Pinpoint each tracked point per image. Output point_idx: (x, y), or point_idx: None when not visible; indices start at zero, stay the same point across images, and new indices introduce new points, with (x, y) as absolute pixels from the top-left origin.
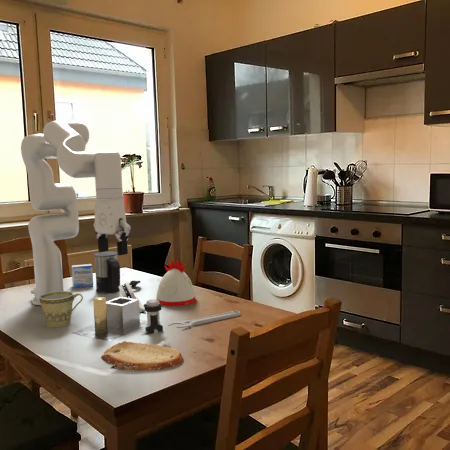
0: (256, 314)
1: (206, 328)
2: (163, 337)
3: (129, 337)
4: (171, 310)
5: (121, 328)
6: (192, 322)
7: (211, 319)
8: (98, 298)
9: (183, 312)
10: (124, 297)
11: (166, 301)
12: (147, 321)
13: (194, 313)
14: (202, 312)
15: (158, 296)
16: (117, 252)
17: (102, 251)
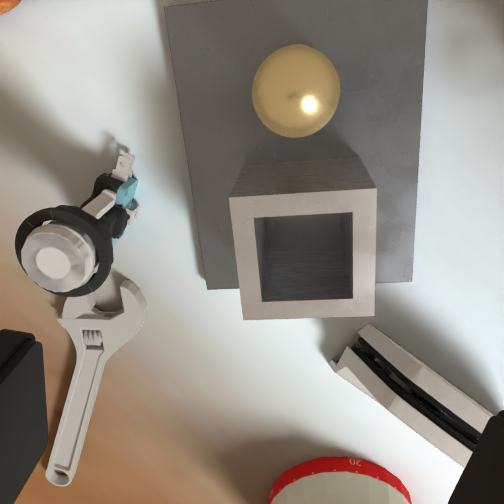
0: None
1: None
2: (68, 199)
3: (174, 127)
4: (274, 428)
5: (253, 164)
6: (78, 345)
7: (66, 400)
8: (309, 95)
9: (220, 427)
10: (340, 315)
11: (329, 472)
12: (107, 202)
13: (180, 433)
14: (165, 450)
15: (378, 490)
16: (7, 352)
17: (481, 440)
